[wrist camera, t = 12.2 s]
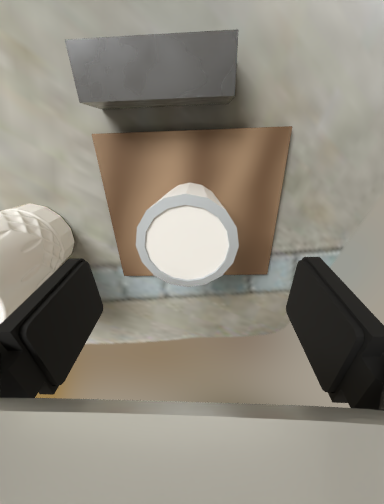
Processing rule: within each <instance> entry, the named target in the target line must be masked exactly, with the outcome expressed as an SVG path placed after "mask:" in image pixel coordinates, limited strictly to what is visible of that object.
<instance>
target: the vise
mask: <svg viewBox="0 0 384 504" xmlns="http://www.w3.org/2000/svg"><path fill="white" fill-rule="evenodd" d="M65 43H66V47H67V51H68V56H69V60H70V64H71V68H72V72H73V77H74V81H75V85H76V89H77V93H78V98H79V102H80V103H82V104H86V105H89V106H93V107H96V108H99V109H119V108H142V107H165V106H188V105H211V104H228V103H229V102H230V101H231V100H232V99H233V97H234V96H235V84H236V65H237V46H238V30H222V31H205V32H187V33H170V34H153V35H135V36H118V37H101V38H83V39H66V40H65Z"/></svg>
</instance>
